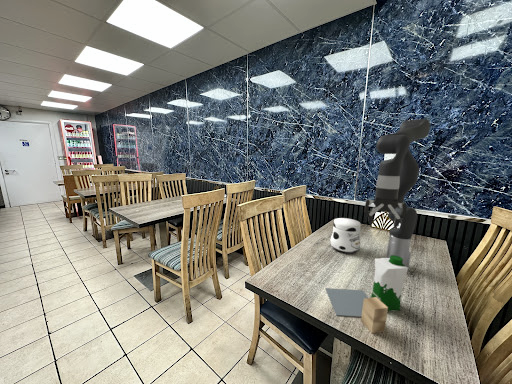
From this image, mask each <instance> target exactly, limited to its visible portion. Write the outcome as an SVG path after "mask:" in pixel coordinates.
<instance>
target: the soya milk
mask: <svg viewBox="0 0 512 384" xmlns="http://www.w3.org/2000/svg"><path fill="white" fill-rule="evenodd" d="M374 267H375V268H374V271H375V272H374V278H373V286H372V291H371V296H370V298H373V297H377V298H378V299H379V300H380V301H381V302H382V303H383V304H385V305H386V306H387V307H388V311H387V312H398V311H401V301H402V300H401V299H402V294H403V293H402V292H403V287H404V281H405V277H406V275H407V272H408V270H409V268H407V267H406V266H405V265H403V259H402V258H401V257H399V256H395V255H391V256H390V258H386V257H380V258H377V257H376V258H374Z"/></svg>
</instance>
